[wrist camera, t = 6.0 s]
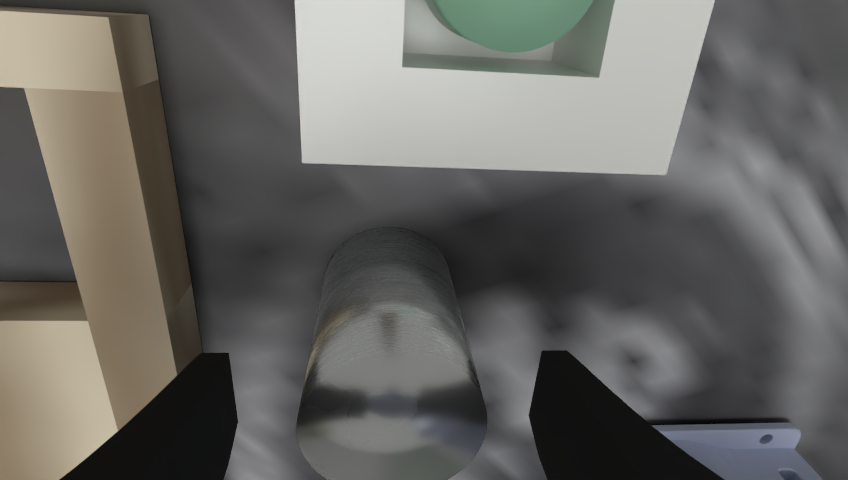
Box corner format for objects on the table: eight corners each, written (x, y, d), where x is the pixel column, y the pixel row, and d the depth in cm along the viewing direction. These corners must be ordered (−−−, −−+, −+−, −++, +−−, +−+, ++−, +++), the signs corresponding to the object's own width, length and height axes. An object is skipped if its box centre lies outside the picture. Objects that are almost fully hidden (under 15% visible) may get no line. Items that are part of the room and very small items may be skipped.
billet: (455, 228, 15) (498, 353, 10) (445, 335, 17) (477, 492, 12) (322, 225, 15) (291, 354, 9) (326, 335, 17) (300, 498, 11)
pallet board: (148, 14, 12) (108, 17, 10) (236, 560, 21) (222, 612, 19) (-327, -15, 11) (-464, -18, 9) (-22, 571, 20) (-61, 628, 18)
